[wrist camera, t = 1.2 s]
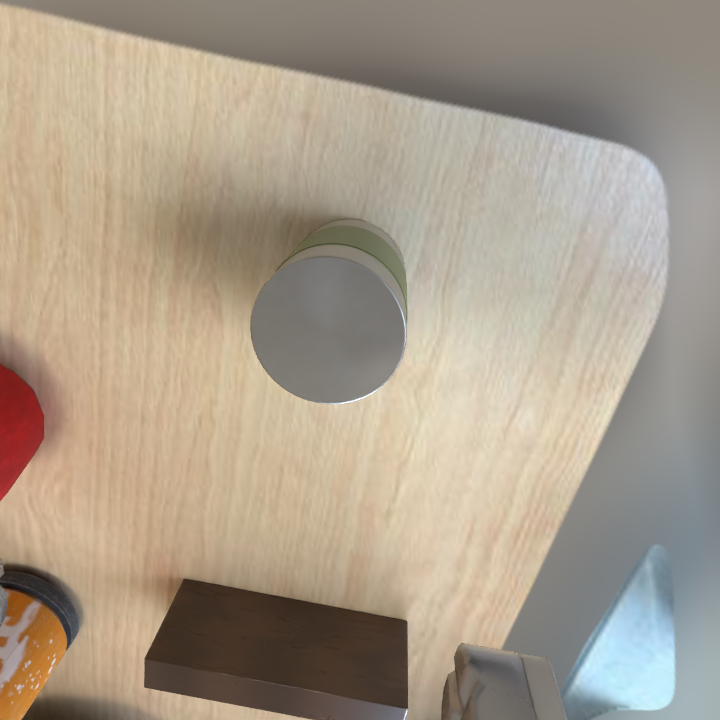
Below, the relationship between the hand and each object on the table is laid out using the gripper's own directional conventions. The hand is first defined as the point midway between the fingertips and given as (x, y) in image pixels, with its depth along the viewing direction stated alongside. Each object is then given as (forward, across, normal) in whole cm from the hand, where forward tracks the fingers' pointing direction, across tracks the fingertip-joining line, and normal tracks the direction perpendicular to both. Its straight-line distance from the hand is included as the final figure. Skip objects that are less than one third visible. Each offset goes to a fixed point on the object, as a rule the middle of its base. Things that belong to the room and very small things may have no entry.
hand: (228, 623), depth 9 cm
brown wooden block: (+24, 0, +29) cm, 38 cm away
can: (+24, 0, 0) cm, 24 cm away
